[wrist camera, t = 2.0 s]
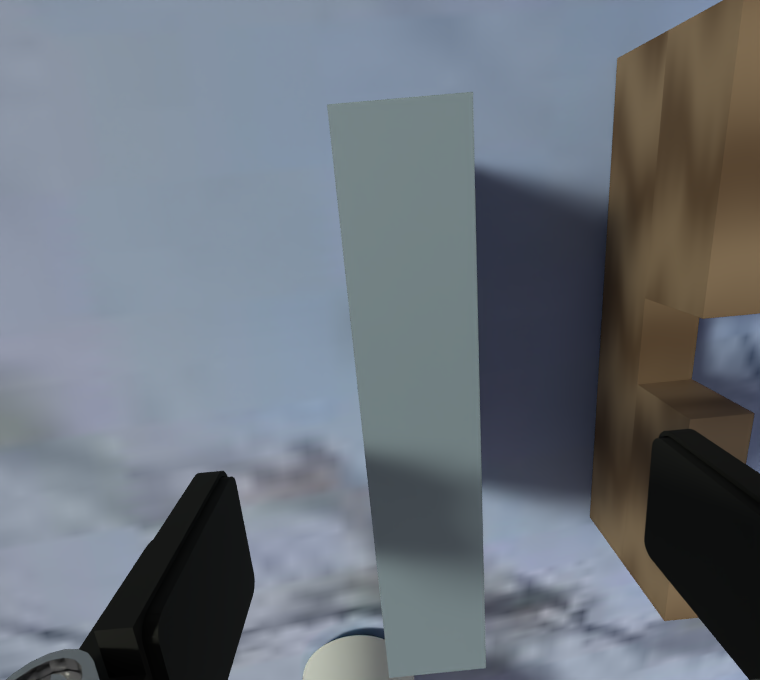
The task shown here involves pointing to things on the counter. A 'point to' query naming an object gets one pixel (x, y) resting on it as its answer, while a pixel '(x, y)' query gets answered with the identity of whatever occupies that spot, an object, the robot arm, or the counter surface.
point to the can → (350, 660)
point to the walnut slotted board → (675, 260)
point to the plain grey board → (417, 366)
